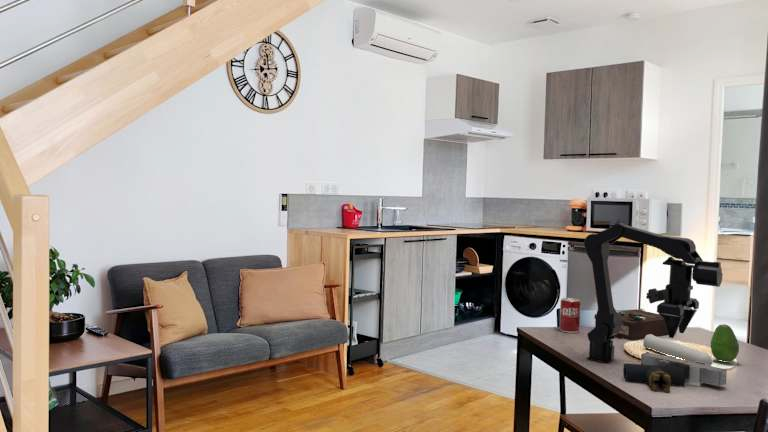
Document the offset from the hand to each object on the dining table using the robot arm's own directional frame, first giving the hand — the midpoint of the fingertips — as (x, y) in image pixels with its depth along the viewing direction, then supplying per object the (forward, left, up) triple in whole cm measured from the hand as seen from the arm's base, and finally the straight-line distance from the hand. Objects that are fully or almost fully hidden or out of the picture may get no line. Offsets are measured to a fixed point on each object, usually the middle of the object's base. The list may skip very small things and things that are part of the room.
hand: (676, 335), depth 179 cm
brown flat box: (-26, +50, -12) cm, 58 cm away
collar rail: (+3, -3, -12) cm, 12 cm away
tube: (-4, +21, -12) cm, 25 cm away
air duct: (+3, -3, -11) cm, 11 cm away
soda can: (-45, +33, -12) cm, 57 cm away
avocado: (+8, +27, -12) cm, 31 cm away
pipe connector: (-1, -14, -12) cm, 19 cm away
